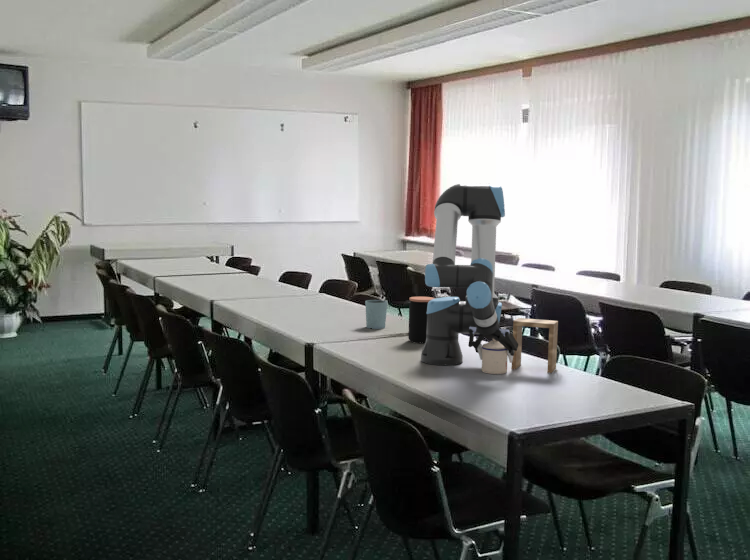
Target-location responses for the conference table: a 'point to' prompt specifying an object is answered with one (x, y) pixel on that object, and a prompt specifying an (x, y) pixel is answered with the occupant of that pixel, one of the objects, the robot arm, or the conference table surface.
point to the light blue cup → (376, 313)
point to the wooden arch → (552, 340)
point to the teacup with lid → (494, 358)
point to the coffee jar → (418, 319)
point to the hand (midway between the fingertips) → (496, 358)
